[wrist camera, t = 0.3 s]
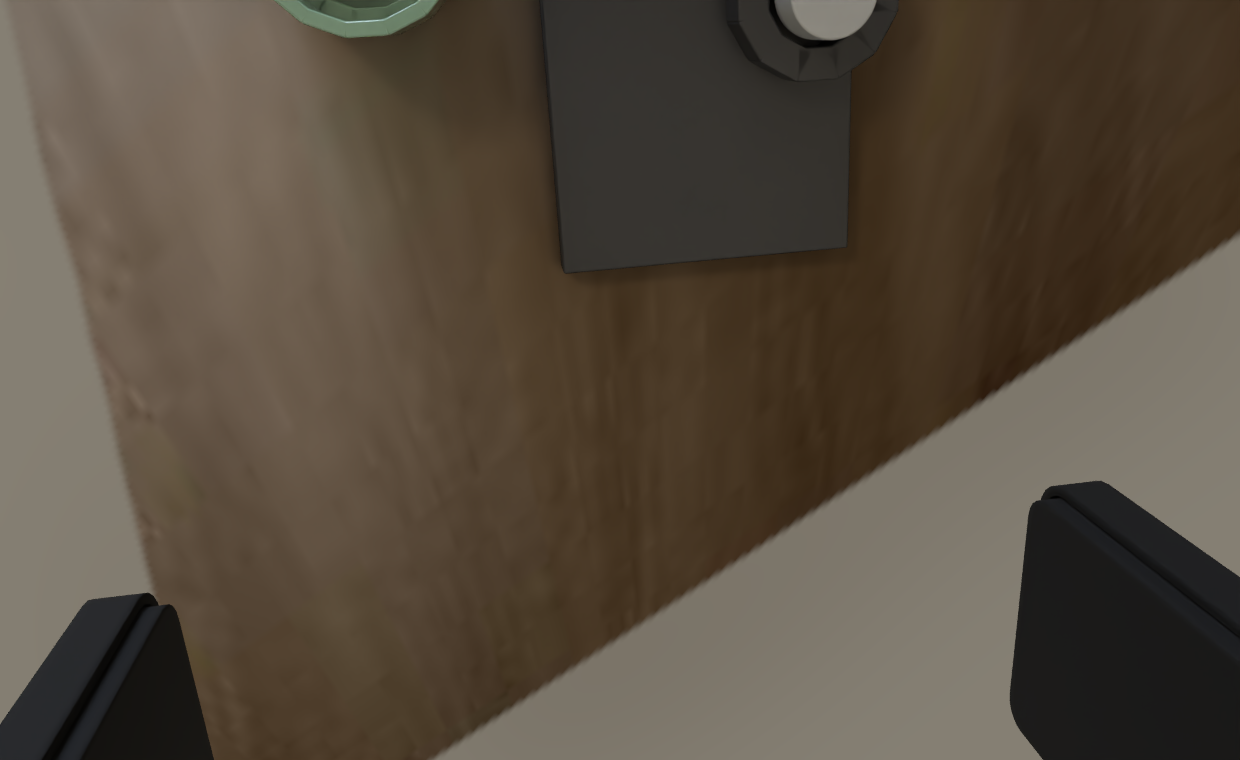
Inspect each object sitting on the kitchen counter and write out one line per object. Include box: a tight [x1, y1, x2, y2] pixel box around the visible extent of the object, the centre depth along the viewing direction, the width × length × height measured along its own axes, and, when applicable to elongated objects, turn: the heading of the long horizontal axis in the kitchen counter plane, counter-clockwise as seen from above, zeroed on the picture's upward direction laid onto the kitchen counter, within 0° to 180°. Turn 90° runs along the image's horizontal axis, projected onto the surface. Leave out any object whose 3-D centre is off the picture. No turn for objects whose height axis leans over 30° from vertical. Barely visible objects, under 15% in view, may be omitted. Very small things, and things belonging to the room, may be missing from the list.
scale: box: [539, 0, 899, 274], centre depth 37 cm, size 13×13×3 cm
